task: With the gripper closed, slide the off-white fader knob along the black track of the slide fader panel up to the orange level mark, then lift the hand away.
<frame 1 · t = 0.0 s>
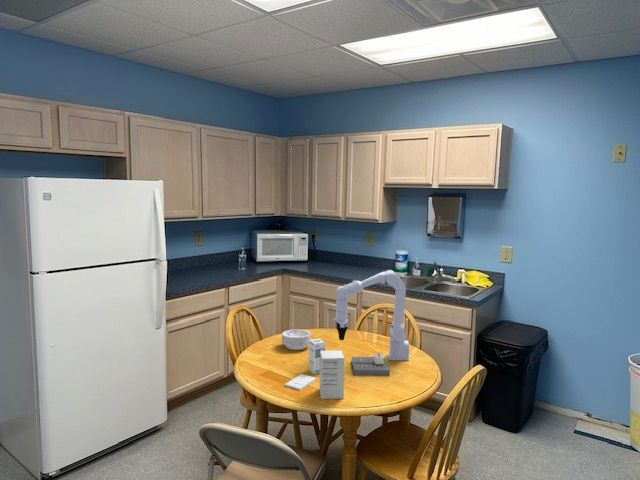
hand: (341, 337, 221), 10 cm above the table, tool pointing down, fingers open, 7 cm apart
slide fader panel: (369, 368, 208), on the table
syrup box: (316, 371, 204), on the table
supplement box: (331, 394, 181), on the table
fader knob: (378, 359, 208), point 5 cm above the table, slide at 0.0 cm
paper bowls: (296, 347, 235), on the table
external hard drive: (300, 384, 191), on the table
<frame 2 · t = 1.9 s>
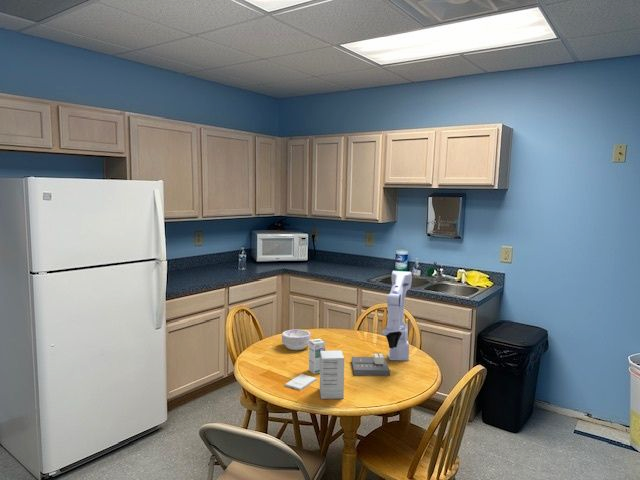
hand: (392, 347, 207), 10 cm above the table, tool pointing down, fingers closed
nothing on the table moved.
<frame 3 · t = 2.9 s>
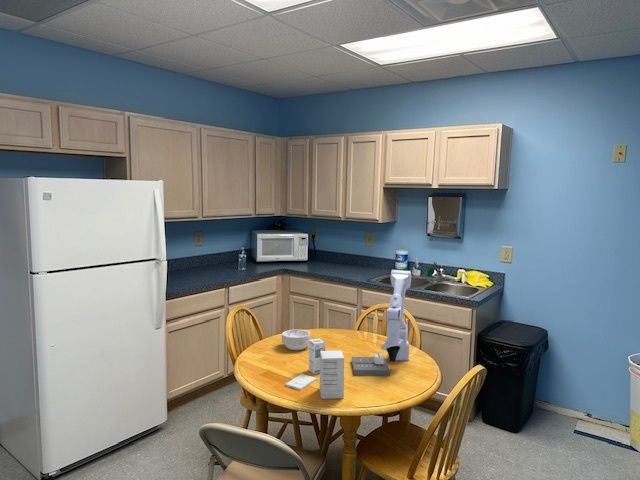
hand: (392, 361, 208), 4 cm above the table, tool pointing down, fingers closed
nothing on the table moved.
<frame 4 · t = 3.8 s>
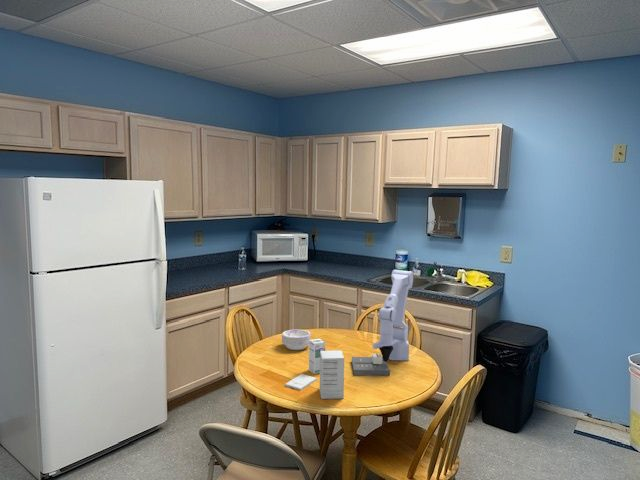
hand: (385, 361, 208), 4 cm above the table, tool pointing down, fingers closed
fader knob: (377, 359, 208), point 5 cm above the table, slide at 0.8 cm, touching gripper
everything else where it was.
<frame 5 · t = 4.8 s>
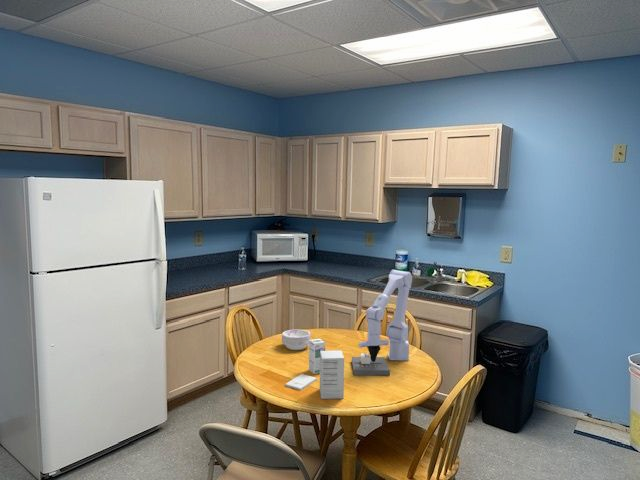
hand: (373, 360, 208), 4 cm above the table, tool pointing down, fingers closed
fader knob: (365, 358, 208), point 5 cm above the table, slide at 6.3 cm, touching gripper
everything else where it was.
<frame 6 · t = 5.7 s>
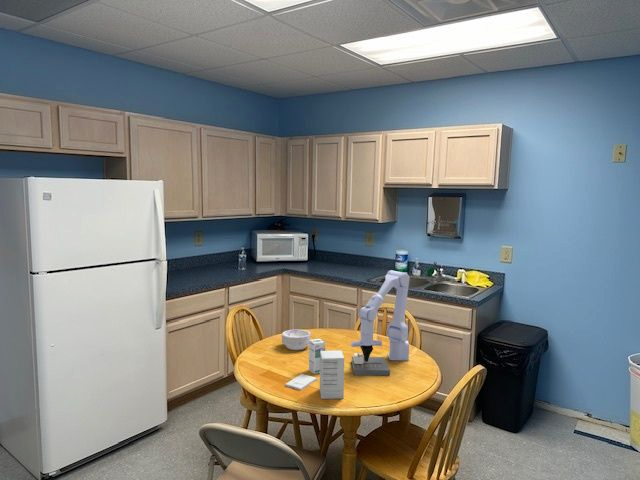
hand: (366, 360, 208), 4 cm above the table, tool pointing down, fingers closed
fader knob: (358, 358, 208), point 5 cm above the table, slide at 9.5 cm, touching gripper
everything else where it was.
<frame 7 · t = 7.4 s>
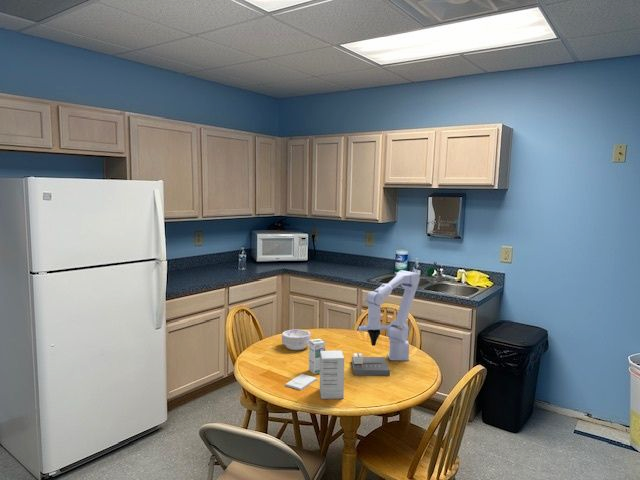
hand: (373, 345, 210), 10 cm above the table, tool pointing down, fingers closed
fader knob: (358, 358, 208), point 5 cm above the table, slide at 9.6 cm
everything else where it was.
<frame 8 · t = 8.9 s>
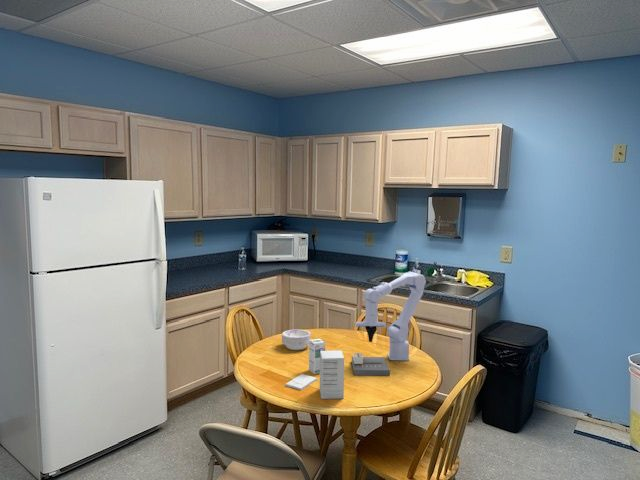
hand: (370, 341, 215), 10 cm above the table, tool pointing down, fingers closed
nothing on the table moved.
at the end: fader knob slide at 9.6 cm; syrup box moved 0.2 cm from its start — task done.
